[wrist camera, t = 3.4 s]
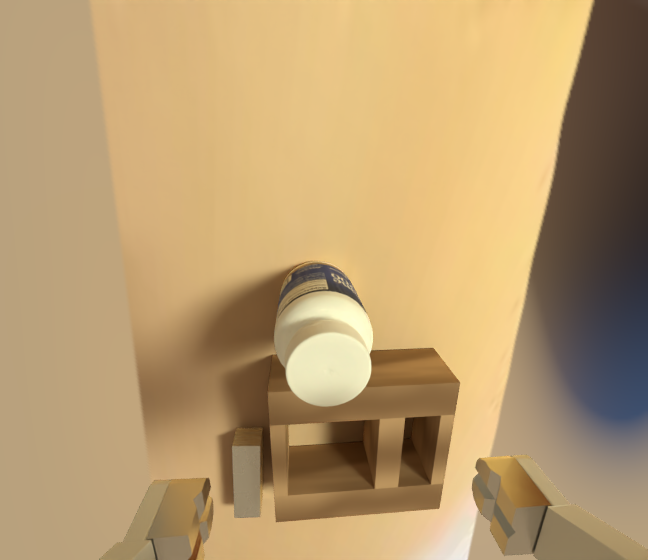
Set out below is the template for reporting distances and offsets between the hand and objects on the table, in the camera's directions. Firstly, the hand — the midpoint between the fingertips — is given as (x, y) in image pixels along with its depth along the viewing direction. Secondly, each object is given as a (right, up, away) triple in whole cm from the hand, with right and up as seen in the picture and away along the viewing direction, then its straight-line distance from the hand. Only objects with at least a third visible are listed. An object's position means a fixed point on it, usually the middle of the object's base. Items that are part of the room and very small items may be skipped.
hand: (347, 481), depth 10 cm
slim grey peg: (-7, -10, +19) cm, 23 cm away
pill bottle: (-1, +5, +14) cm, 15 cm away
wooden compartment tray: (+2, -5, +18) cm, 19 cm away
